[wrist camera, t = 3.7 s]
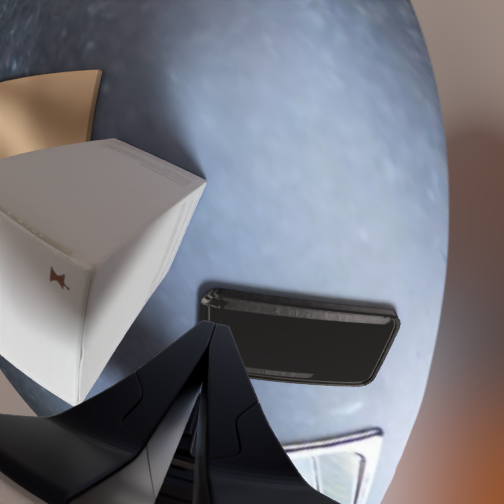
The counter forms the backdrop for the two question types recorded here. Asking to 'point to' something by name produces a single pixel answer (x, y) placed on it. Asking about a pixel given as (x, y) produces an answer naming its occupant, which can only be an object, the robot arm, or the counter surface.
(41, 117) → the wooden cutting board
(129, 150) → the supplement box
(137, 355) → the counter surface
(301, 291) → the counter surface
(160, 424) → the robot arm
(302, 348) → the phone
